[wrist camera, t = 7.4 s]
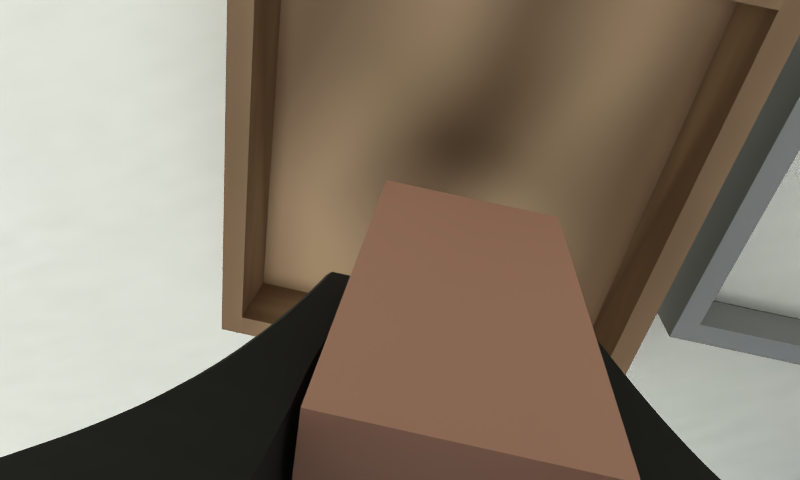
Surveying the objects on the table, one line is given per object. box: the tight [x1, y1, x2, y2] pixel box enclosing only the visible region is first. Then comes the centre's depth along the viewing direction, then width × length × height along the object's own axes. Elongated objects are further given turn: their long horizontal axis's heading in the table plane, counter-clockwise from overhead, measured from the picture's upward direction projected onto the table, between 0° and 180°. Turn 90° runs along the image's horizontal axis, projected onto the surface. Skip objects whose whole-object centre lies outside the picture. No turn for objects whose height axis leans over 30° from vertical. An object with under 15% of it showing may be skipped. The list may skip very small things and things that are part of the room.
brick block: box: [292, 180, 640, 480], centre depth 10 cm, size 4×4×7 cm
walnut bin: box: [222, 0, 800, 374], centre depth 19 cm, size 16×16×3 cm
